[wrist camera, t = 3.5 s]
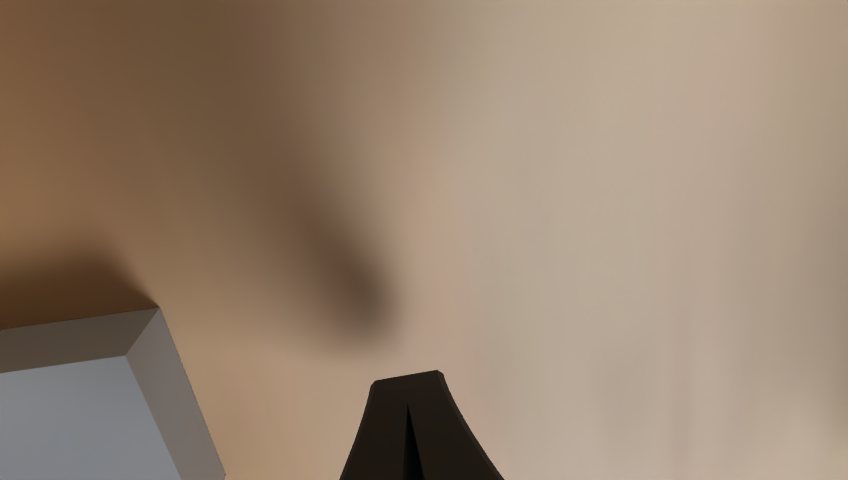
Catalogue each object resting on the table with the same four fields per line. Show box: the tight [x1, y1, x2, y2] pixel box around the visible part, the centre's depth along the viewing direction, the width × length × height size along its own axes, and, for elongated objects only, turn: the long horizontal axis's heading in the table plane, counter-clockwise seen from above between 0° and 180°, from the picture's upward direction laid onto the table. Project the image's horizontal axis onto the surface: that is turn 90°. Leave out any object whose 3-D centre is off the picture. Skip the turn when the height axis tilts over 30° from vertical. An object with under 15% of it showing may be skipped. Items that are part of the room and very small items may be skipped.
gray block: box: [0, 307, 226, 480], centre depth 11 cm, size 7×5×2 cm
